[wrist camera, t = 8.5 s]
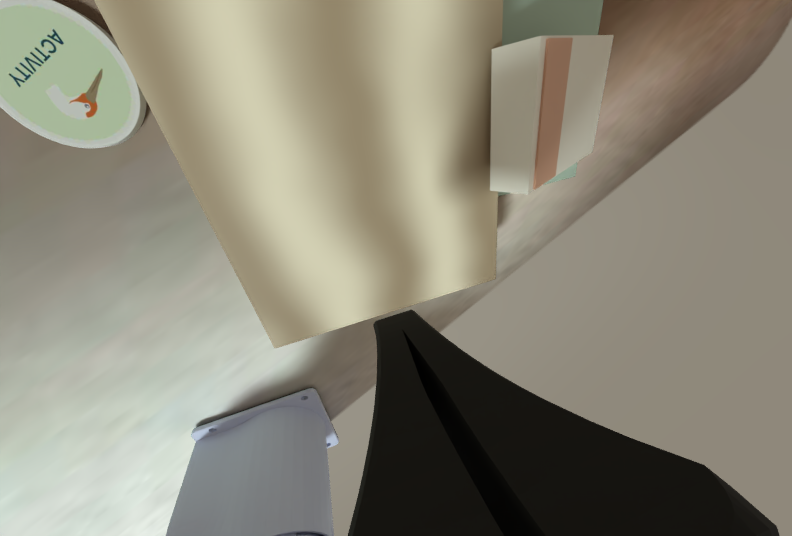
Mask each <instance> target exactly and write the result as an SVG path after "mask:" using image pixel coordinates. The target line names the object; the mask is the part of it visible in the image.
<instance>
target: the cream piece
mask: <svg viewBox="0 0 792 536" xmlns="http://www.w3.org/2000/svg"><path fill="white" fill-rule="evenodd" d="M94 1H95V3H96V5H97V7H98V8H99V10H100V12H101V14H102V16H103V18H104V20H105V22H106V24H107V26H108V28H109V30H110V32H111V34H112V35H113V37H114V39H115V41H116V43H117V45H118V47H119V49H120V51H121V53H122V55H123V57H124V59H125V61H126V62H127V64H128V66H129V68H130V70H131V72H132V74H133V76H134V78H135V80H136V82H137V84H138V86H139V88H140V89H141V91H142V93H143V95H144V97H145V99H146V101H147V103H148V105H149V107H150V109H151V111H152V113H153V115H154V116H155V118H156V120H157V122H158V124H159V126H160V128H161V130H162V132H163V134H164V136H165V138H166V140H167V142H168V143H169V145H170V147H171V149H172V151H173V153H174V155H175V157H176V159H177V161H178V163H179V165H180V167H181V169H182V170H183V172H184V174H185V176H186V178H187V180H188V182H189V184H190V186H191V188H192V190H193V192H194V194H195V196H196V197H197V199H198V201H199V203H200V205H201V207H202V209H203V211H204V213H205V215H206V217H207V219H208V221H209V222H210V224H211V226H212V228H213V230H214V232H215V234H216V236H217V238H218V240H219V242H220V244H221V246H222V248H223V249H224V251H225V253H226V255H227V257H228V259H229V261H230V263H231V265H232V267H233V269H234V271H235V273H236V275H237V276H238V278H239V280H240V282H241V284H242V286H243V288H244V290H245V292H246V294H247V296H248V298H249V300H250V302H251V303H252V305H253V307H254V309H255V311H256V313H257V315H258V317H259V319H260V321H261V323H262V325H263V327H264V329H265V330H266V332H267V334H268V336H269V338H270V340H271V342H272V344H273V346H274V348H278V347H282V346H285V345H288V344H291V343H294V342H297V341H301V340H304V339H307V338H310V337H313V336H316V335H320V334H323V333H326V332H329V331H332V330H335V329H339V328H342V327H345V326H348V325H351V324H355V323H358V322H361V321H364V320H367V319H370V318H374V317H377V316H380V315H383V314H386V313H389V312H393V311H396V310H399V309H402V308H405V307H408V306H412V305H415V304H418V303H421V302H424V301H427V300H431V299H434V298H437V297H440V296H443V295H446V294H450V293H453V292H456V291H459V290H462V289H466V288H469V287H472V286H475V285H478V284H481V283H485V282H488V281H491V280H494V279H496V247H497V210H498V191H490V147H491V66H492V49H494V48H497V47H501V46H502V25H503V0H94Z"/></svg>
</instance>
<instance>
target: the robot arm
mask: <svg viewBox="0 0 792 536" xmlns="http://www.w3.org/2000/svg"><path fill="white" fill-rule="evenodd" d="M374 329H375V333H376V339H377V383H376V394H375V405H374V413H373V421H372V427H371V433H370V440H369V446H368V451H367V456H366V461H365V466H364V471H363V476H362V480H361V485H360V489H359V494H358V498H357V502H356V506H355V510H354V514H353V517H352V521H351V525H350V529H349V533H348V536H779V533H778V529H777V527H776V525H775V524H773V523H772V522H771V521H770V520H769V519H768V518H767V517H765V516H764V515H763V514H762V513H761V512H760V511H759V510H757V509H756V508H755V507H754V506H753V505H752V504H750V503H749V502H748V501H747V500H746V499H745V498H744V497H742V496H741V495H740V494H739V493H738V492H737V491H736V490H734V489H733V488H732V487H731V486H730V485H728V484H727V483H726V482H725V481H723V480H722V479H721V478H719V477H718V476H717V475H716V474H715V473H713V472H712V471H711V470H710V469H708V468H707V467H706V466H705V465H702V464H699V463H697V462H694V461H692V460H689V459H686V458H683V457H681V456H678V455H675V454H672V453H670V452H667V451H664V450H662V449H659V448H656V447H654V446H651V445H648V444H645V443H643V442H640V441H637V440H635V439H632V438H629V437H627V436H624V435H622V434H619V433H617V432H615V431H613V430H610V429H608V428H605V427H603V426H601V425H598V424H596V423H594V422H591V421H589V420H587V419H584V418H583V417H581V416H578V415H576V414H574V413H572V412H570V411H568V410H566V409H563V408H561V407H559V406H557V405H555V404H553V403H551V402H548V401H546V400H544V399H542V398H540V397H538V396H536V395H535V394H533V393H531V392H529V391H527V390H525V389H524V388H521V387H520V386H518V385H516V384H515V383H513V382H511V381H509V380H508V379H506V378H504V377H502V376H500V375H499V374H497V373H496V372H494V371H492V370H491V369H489V368H488V367H486V366H484V365H483V364H482V363H480V362H479V361H477V360H476V359H474V358H472V357H471V356H470V355H468V354H467V353H465V352H464V351H462V350H461V349H460V348H458V347H457V346H456V345H454V344H453V343H452V342H450V341H449V340H448V339H446V338H445V337H444V336H443V335H441V334H440V333H439V332H438V331H436V330H435V329H434V328H433V327H431V326H430V325H429V324H428V323H427V322H426V321H425V320H423V319H422V318H421V317H420V316H419V315H418V314H417V313H416V312H415V311H413V310H409V311H406V312H403V313H400V314H397V315H393V316H390V317H387V318H384V319H381V320H378V321H376V322H375V323H374ZM303 396H304V397H303ZM191 437H192V438H193V439H194V440H195V441H196V443H195V446H194V449H193V452H192V455H191V458H190V461H189V465H188V468H187V471H186V474H185V477H184V480H183V483H182V486H181V489H180V492H179V495H178V498H177V501H176V504H175V507H174V511H173V514H172V517H171V520H170V523H169V526H168V529H167V533H166V536H334V531H333V517H332V505H331V492H330V480H329V466H328V454H327V448H329V447H332V446H334V445H336V444H337V443H338V442H339V440H338V436H337V434H336V432H335V429H334V428H333V425H332V423H331V421H330V419H329V416H328V414H327V412H326V410H325V408H324V406H323V403H322V401H321V399H320V397H319V395H318V393H317V391H316V389H314V388H309V389H306V390H303V391H300V392H297V393H294V394H291V395H289V396H286V397H283V398H280V399H277V400H274V401H271V402H268V403H265V404H263V405H260V406H257V407H254V408H251V409H248V410H245V411H242V412H239V413H237V414H234V415H231V416H228V417H225V418H222V419H219V420H216V421H213V422H211V423H208V424H205V425H202V426H199V427H196V428H194V429H193V431H192V434H191Z"/></svg>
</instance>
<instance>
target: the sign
mask: <svg viewBox="0 0 792 536" xmlns="http://www.w3.org/2000/svg"><path fill="white" fill-rule="evenodd" d="M0 107H1V108H2V109H3V110H4V111H5V112H7V113H8V114H9V115H10V116H11V117H13V118H14V119H15V120H17V121H18V122H19V123H21V124H22V125H24V126H25V127H27V128H28V129H30V130H32V131H34V132H35V133H37V134H39V135H41V136H43V137H45V138H48V139H50V140H53V141H55V142H58V143H61V144H65V145H69V146H74V147H80V148H102V147H109V146H114V145H117V144H120V143H122V142H125V141H126V140H128V139H130V138H131V137H132V136H133V135H134V134H135V133H136V132H137V131H138V130H139V128H140V127H141V125H142V123H143V121H144V118H145V113H146V99H145V97H144V95H143V93H142V91H141V89H140V88H139V86H138V84H137V82H136V80H135V78H134V76H133V74H132V72H131V70H130V68H129V66H128V64H127V62H126V61H125V59H124V57H123V55H122V53H121V51H120V49H119V47H118V45H117V43H116V41H115V40H114V39H113V38H112V37H111V36H110V35H109V34H108V33H107V32H106V31H105V30H104V29H102V28H101V27H100V26H99V25H97V24H96V23H95V22H93V21H92V20H90V19H89V18H87V17H86V16H84V15H82V14H81V13H79V12H77V11H75V10H73V9H71V8H69V7H67V6H65V5H62V4H60V3H58V2H56V1H53V0H0Z"/></svg>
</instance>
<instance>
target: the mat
mask: <svg viewBox="0 0 792 536" xmlns="http://www.w3.org/2000/svg"><path fill="white" fill-rule="evenodd" d="M602 7H603V0H503V25H502V46H505V45H508V44H512V43H516V42H519V41H523V40H527V39H530V38H534V37H538V36H555V35H598V31H599V25H600V19H601V13H602ZM576 168H577V163H575V164H573V165H572V166H570V167H569V168H567V169H566V170H564V171H563V172H561V173H560V174H558V175H557V176H555V177H554V178H552V179H551V180H549V181H548V182H546V183H545V184H548V183H551V182H555V181H559V180H563V179H567V178H571V177H575V174H576ZM543 185H544V184H543ZM505 194H509V193H508V192H498V196H501V195H505Z"/></svg>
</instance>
